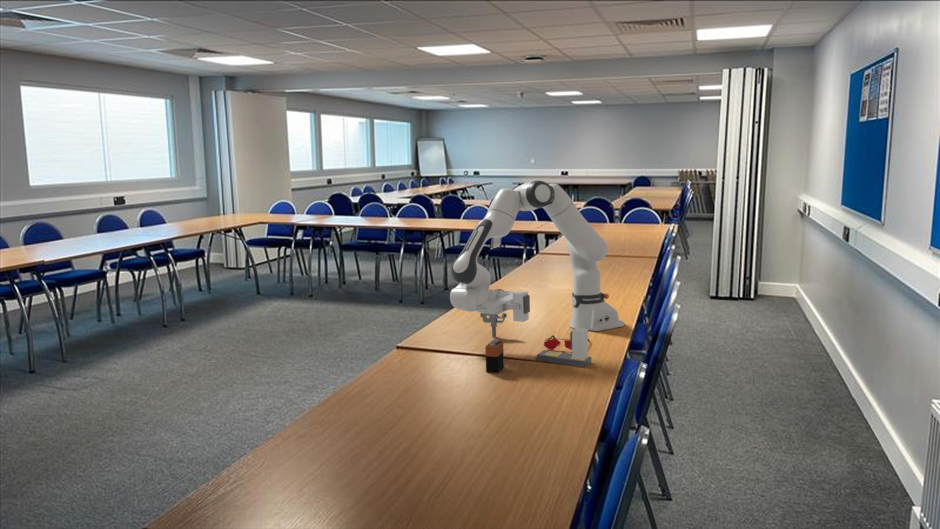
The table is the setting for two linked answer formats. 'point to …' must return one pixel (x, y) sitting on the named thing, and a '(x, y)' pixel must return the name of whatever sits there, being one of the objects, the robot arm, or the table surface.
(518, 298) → the block
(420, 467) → the table surface
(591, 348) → the table surface
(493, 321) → the mechanical component
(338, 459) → the table surface
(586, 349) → the block
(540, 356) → the rail
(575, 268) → the robot arm
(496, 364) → the battery
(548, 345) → the glasses
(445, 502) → the table surface
